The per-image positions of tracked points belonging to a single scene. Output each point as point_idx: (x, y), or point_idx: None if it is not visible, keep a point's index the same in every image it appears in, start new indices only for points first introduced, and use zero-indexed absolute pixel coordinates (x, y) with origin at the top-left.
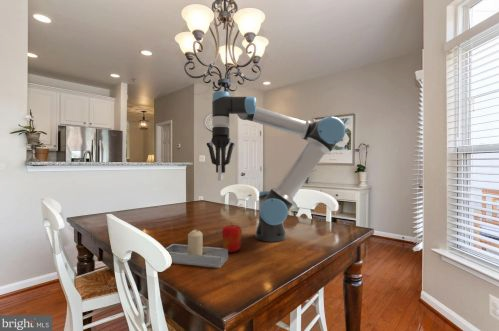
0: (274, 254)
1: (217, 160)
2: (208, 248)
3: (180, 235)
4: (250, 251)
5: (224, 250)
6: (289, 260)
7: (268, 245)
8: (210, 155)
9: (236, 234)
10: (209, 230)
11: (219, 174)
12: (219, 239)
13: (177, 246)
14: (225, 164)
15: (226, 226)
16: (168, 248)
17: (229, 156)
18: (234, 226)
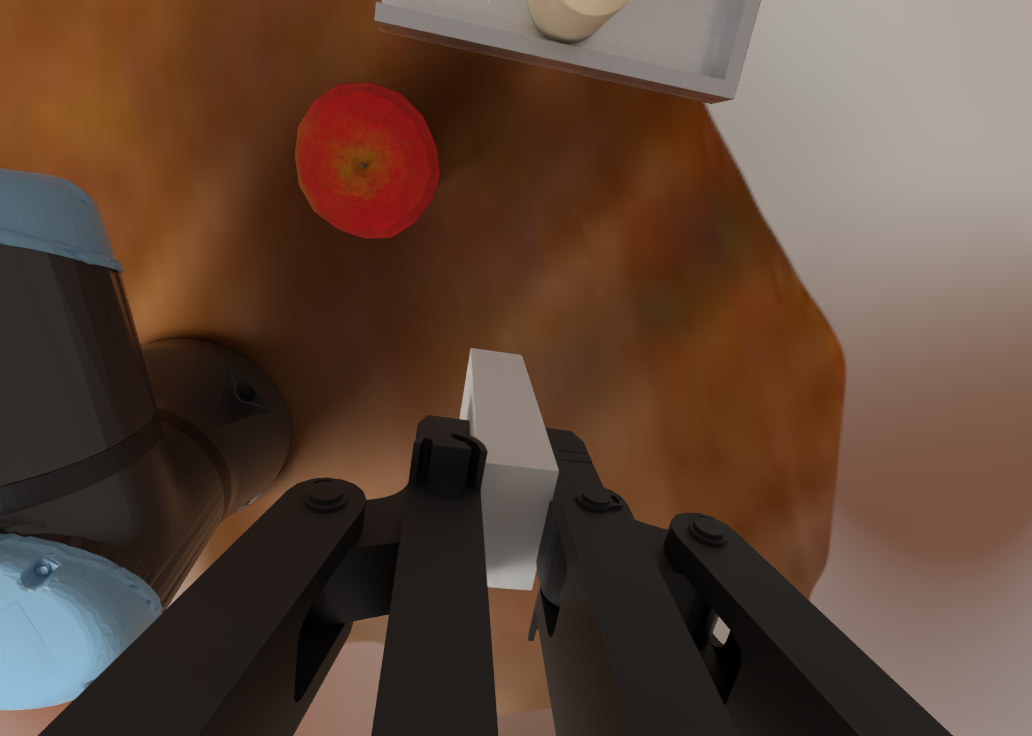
0: (116, 117)
1: (603, 561)
2: (501, 31)
3: (729, 401)
4: (272, 160)
5: (396, 8)
6: (3, 16)
7: (182, 275)
8: (914, 706)
9: (322, 96)
10: None
11: (504, 387)
12: None
13: (696, 74)
14: (370, 504)
15: (403, 154)
16: (740, 16)
17: (139, 660)
18: (347, 178)
